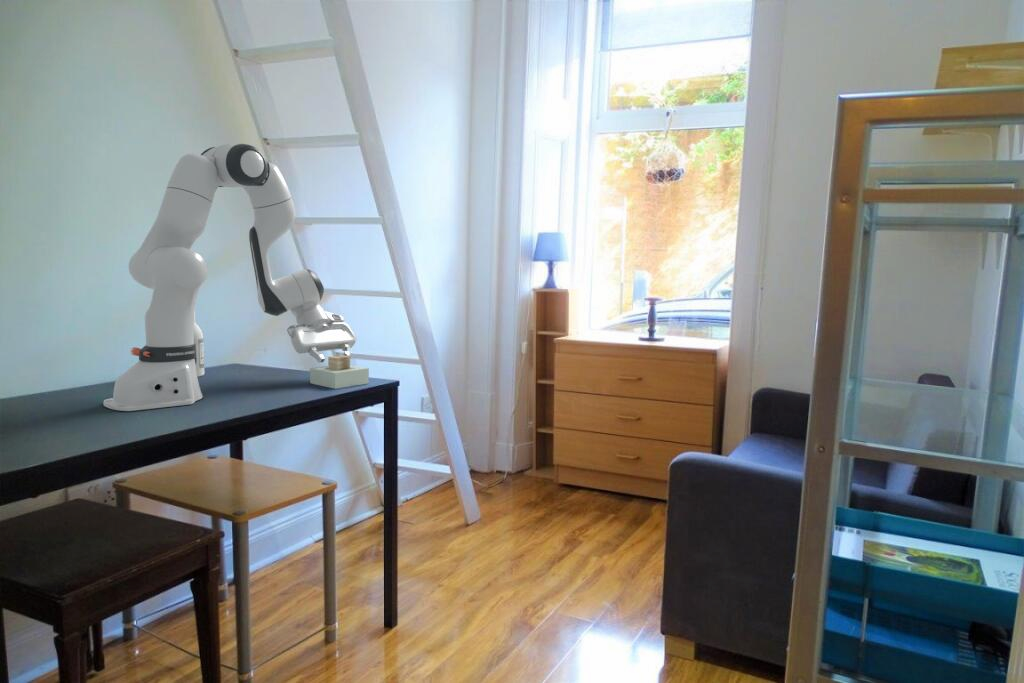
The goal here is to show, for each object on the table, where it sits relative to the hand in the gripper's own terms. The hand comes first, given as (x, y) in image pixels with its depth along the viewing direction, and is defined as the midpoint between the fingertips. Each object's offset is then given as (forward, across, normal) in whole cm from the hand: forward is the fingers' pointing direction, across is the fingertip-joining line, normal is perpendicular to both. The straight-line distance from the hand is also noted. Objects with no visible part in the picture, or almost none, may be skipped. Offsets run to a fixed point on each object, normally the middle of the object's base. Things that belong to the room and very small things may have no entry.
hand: (335, 359), depth 209 cm
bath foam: (-23, -24, +33) cm, 46 cm away
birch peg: (+6, 0, +4) cm, 7 cm away
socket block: (+6, 0, +4) cm, 7 cm away
